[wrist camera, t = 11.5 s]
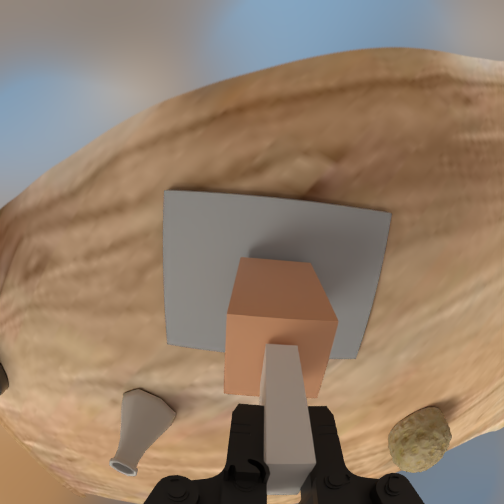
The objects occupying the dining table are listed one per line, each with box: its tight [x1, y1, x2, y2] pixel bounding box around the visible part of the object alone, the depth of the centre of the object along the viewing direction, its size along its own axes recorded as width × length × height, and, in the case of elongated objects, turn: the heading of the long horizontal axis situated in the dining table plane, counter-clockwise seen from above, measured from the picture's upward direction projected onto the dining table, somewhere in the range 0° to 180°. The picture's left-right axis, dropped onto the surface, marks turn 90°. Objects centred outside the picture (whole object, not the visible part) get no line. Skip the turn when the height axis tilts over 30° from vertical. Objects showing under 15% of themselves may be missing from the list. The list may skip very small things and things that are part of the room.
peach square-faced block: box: [224, 257, 339, 398], centre depth 17 cm, size 5×5×9 cm
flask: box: [109, 389, 176, 476], centre depth 24 cm, size 7×7×10 cm
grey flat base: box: [163, 190, 392, 359], centre depth 18 cm, size 18×14×10 cm
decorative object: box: [388, 407, 452, 473], centre depth 27 cm, size 9×10×10 cm
